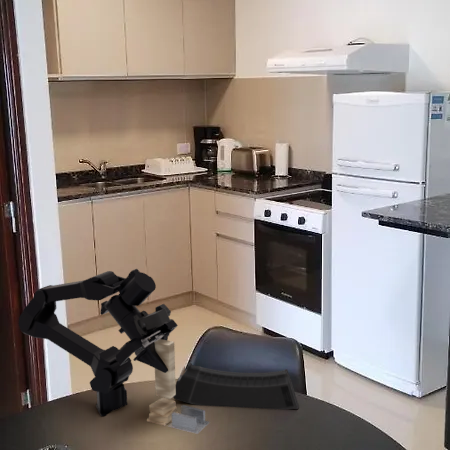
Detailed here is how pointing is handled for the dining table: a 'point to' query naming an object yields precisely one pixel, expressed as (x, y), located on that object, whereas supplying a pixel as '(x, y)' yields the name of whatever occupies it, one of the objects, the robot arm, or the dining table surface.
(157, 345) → the beige rectangular block
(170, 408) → the offcut stack
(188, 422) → the rack
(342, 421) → the dining table surface
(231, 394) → the black curved panel
